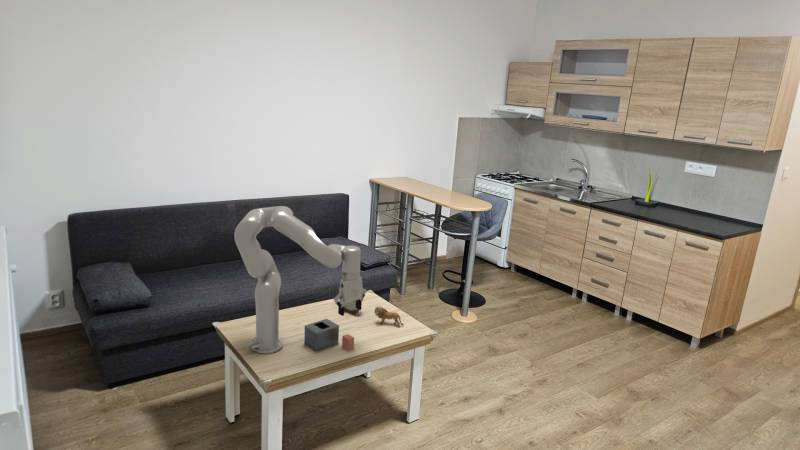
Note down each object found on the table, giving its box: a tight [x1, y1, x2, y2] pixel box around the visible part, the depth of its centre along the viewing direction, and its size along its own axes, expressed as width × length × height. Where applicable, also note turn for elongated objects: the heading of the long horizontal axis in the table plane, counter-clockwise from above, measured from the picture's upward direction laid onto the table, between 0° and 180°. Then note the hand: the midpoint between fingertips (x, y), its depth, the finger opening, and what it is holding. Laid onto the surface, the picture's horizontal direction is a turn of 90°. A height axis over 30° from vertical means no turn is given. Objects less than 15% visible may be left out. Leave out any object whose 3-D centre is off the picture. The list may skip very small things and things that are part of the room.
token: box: [341, 333, 355, 352], centre depth 232 cm, size 3×4×6 cm, turn 45°
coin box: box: [303, 318, 340, 353], centre depth 233 cm, size 12×9×9 cm
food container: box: [341, 301, 360, 318], centre depth 268 cm, size 12×6×10 cm, turn 58°
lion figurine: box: [374, 305, 405, 328], centre depth 257 cm, size 15×5×9 cm, turn 87°
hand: (350, 311), depth 228 cm, fingers open, 9 cm apart
